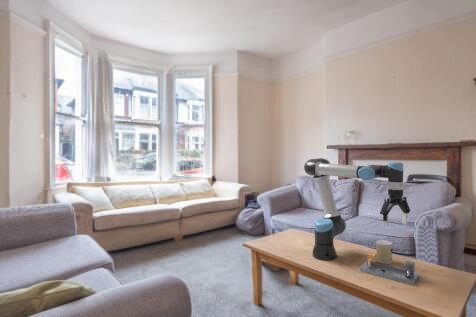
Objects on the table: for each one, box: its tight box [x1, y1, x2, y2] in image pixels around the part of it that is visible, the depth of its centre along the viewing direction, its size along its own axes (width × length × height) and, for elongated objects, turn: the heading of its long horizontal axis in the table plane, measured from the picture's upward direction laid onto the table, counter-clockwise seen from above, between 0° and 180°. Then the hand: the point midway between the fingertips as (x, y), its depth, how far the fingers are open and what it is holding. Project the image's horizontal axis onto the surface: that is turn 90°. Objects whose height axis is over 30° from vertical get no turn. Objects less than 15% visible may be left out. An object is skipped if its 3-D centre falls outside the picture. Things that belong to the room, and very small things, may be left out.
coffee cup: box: [375, 239, 394, 265], centre depth 162 cm, size 9×9×12 cm
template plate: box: [359, 259, 419, 286], centre depth 147 cm, size 26×13×8 cm, turn 48°
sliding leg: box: [366, 252, 378, 267], centre depth 154 cm, size 4×8×6 cm, turn 138°
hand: (395, 225), depth 154 cm, fingers open, 13 cm apart
